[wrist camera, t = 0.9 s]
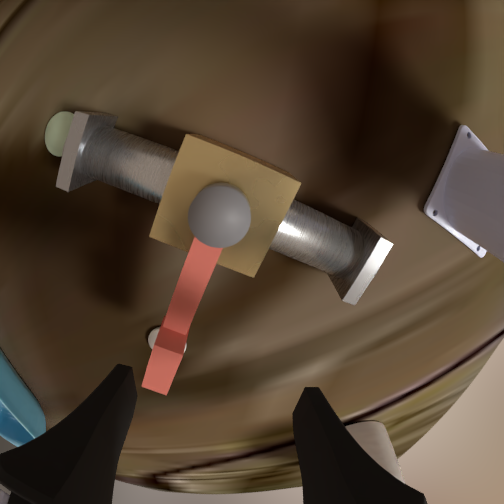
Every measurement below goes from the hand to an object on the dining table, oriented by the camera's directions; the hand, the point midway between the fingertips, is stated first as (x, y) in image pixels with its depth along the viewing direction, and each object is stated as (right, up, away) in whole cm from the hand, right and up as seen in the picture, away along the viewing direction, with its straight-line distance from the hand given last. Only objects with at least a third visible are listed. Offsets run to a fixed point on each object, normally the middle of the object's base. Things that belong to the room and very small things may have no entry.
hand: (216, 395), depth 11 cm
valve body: (0, +9, +7) cm, 12 cm away
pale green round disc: (-12, +14, +4) cm, 19 cm away
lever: (-2, +4, +5) cm, 6 cm away
